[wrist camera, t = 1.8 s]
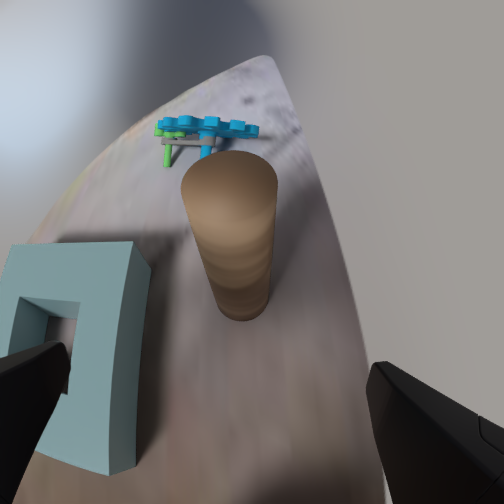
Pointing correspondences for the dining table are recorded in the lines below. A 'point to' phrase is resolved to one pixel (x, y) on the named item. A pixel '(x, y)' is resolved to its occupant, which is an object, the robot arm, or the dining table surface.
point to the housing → (83, 342)
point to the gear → (200, 132)
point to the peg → (234, 227)
